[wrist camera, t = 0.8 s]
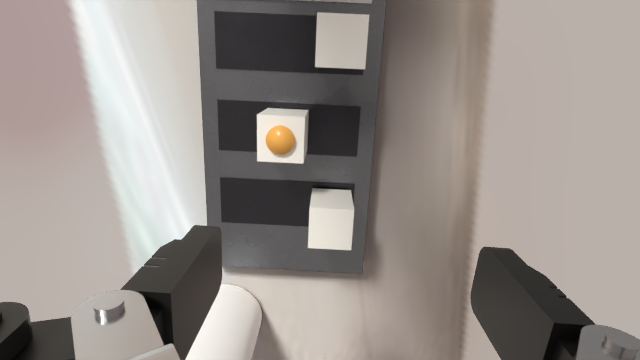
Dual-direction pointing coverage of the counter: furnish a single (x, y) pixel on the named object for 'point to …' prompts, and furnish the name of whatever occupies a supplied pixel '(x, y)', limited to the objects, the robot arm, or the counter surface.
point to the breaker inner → (341, 40)
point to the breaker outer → (331, 219)
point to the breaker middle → (282, 135)
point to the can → (228, 327)
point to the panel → (285, 93)
